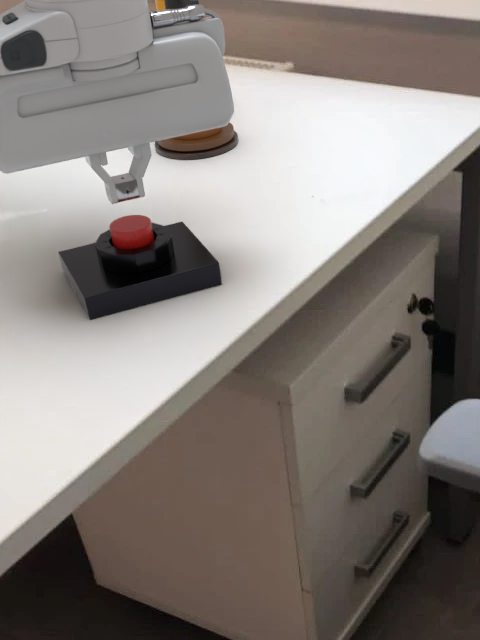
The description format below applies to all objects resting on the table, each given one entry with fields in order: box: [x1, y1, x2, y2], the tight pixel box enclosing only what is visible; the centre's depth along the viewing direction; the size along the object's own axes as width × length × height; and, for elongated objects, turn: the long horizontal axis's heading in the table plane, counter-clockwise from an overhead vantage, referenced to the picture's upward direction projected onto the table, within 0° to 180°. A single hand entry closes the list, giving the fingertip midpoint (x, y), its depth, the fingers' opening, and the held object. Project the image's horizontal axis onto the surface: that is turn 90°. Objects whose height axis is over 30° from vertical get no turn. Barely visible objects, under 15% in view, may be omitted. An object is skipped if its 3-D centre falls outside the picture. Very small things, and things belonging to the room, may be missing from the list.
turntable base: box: [154, 130, 239, 160], centre depth 106 cm, size 10×10×1 cm
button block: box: [58, 221, 223, 321], centre depth 79 cm, size 12×10×4 cm
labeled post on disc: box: [158, 0, 235, 151], centre depth 100 cm, size 9×9×19 cm
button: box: [109, 214, 154, 249], centre depth 77 cm, size 4×4×2 cm
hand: (126, 198), depth 75 cm, fingers closed
